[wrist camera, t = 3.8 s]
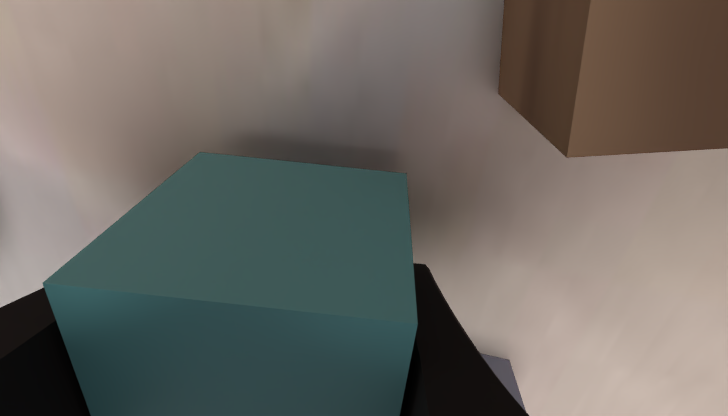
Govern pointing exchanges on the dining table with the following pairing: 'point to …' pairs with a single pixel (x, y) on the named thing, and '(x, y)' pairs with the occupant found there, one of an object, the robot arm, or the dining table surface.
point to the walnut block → (618, 73)
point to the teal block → (246, 295)
